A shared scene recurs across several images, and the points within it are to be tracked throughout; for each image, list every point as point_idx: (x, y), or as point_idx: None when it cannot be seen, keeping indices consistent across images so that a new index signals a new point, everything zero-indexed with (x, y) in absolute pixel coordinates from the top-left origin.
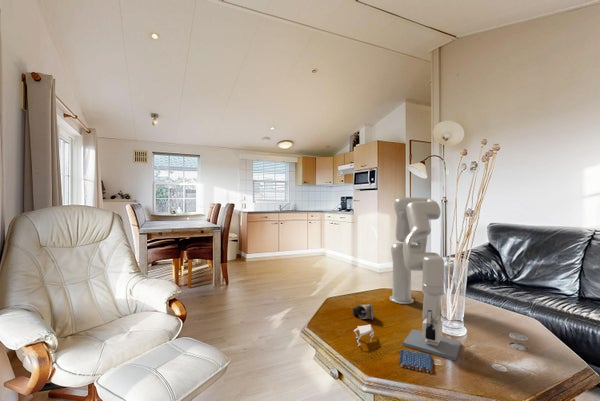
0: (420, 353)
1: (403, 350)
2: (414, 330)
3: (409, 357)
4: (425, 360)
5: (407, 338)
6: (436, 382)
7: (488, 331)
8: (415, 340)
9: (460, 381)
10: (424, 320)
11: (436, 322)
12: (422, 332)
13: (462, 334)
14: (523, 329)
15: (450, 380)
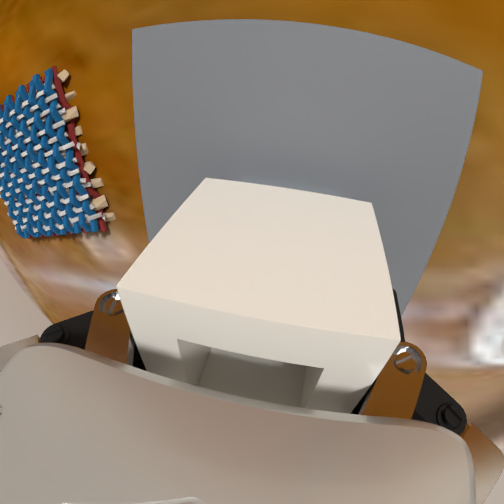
0: (73, 178)
1: (46, 84)
2: (461, 85)
3: (20, 138)
4: (46, 209)
5: (230, 31)
6: (12, 243)
7: (501, 405)
8: (230, 104)
9: (64, 303)
10: (221, 319)
11: (305, 400)
12: (183, 207)
13: (484, 356)
14: (499, 439)
15: (46, 279)
